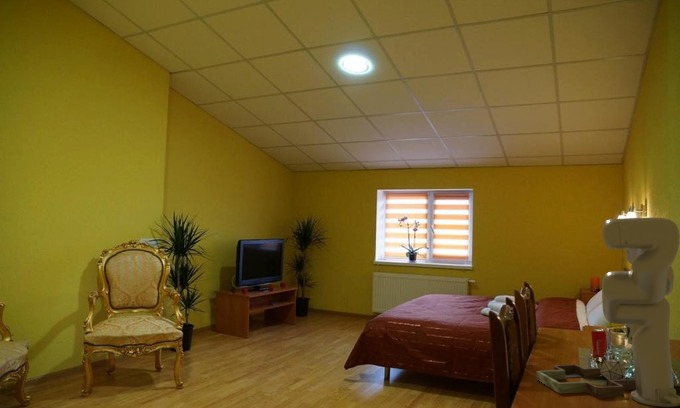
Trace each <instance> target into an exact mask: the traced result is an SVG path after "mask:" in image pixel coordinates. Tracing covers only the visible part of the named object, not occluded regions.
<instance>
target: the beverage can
mask: <svg viewBox="0 0 680 408" xmlns="http://www.w3.org/2000/svg"><path fill="white" fill-rule="evenodd" d="M590 334H591V346H592V347H591V349H592V357H593V359H594V358H596V357H603V356H604V355H605V353H606V349H607V350H608V342H607V341H608V340H607V332H606V330H605V329H602V328H601V329H600V328H599V329H598V328H593V329H591V333H590Z"/></svg>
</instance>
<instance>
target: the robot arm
mask: <svg viewBox="0 0 680 408" xmlns="http://www.w3.org/2000/svg"><path fill="white" fill-rule="evenodd" d="M601 228H602V230H601V234H602V235H601V236H602V240H603V243H604V245H605V246H606V247H607V248H608V249H610V250H625V258H626V261H627V262H628V263H629V264H630V269H631V270H617V271H615V270H613V271H609V272H607V273H605V274H604V276H603V278H602V283H601V299H602V302H601V303H602V312H603V315H604V318H605V320H606V321H607V322H608V323H611V324H616V325H625V335H626V336H625V337H626V338H627V344H629V345H631V347H632V358H633V368H634V369H633V370H634V379H635V383H636V389H634V390H631V392H630V398H631V399H632V400H634V401H635V402H638V403H640V404H644V405H647V406H652V407H660V408H661V407H662V408H673V407H679V406H680V395H677V390H676V388H674V379H673V367H672V356H671V345H670V344H671V343H670V316H671V305H670V302H669V300H668V299H667V298H666V296H669V295H671V293H673V290H674V283H675V280H674V279H675V274H674V269H673V267H672V264H673V262H674V261H675V260H676V257H677V254H678V252H679V248H680V230H679V227H678V224H677V223H676V222H674V221H673V220H671V219H668V218H665V217H627V218H626V217H625V218H612V219H606V220H605V221H604V223H603V225H602V227H601Z"/></svg>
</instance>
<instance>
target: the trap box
mask: <svg viewBox="0 0 680 408" xmlns="http://www.w3.org/2000/svg"><path fill="white" fill-rule="evenodd" d="M600 369H601V367H591V368H589V367H588V368H585V367H583V366H581V365H578V364H575V363H574V364H558V365H553V369H552V370H551V369H550V370H536V371H535V373H536V374H535V376H536V380H537V381H538V380H539V381H540V382H539V381H538V382H539V383H541V382H542V383H541V384H542V385H544V384H545V386H546V387H548V388H549V389H551V390H552V391H554V392H556V393H558V394H560V395H561V394H574V393H578V394H579V393H588V394H589V395H591V396H593V397H595V398H599V399H600V398H601V399H602V398H604V399H605V398H620V397H622V398H623V397H625V392H624V391H627V390H629V391H630V390H631V391H633V390H636V383H635V378H623V379H620V380H607V386H597V385H595V384H594V383H591V382H589V381H586V380H584V381H571V382H559V380H566V379H574V378H575V379H576V378H584V379H594V378H595V377H598V378H600V377H599V376H600V375H601V374H597V373H598V372H600ZM595 379H596V378H595Z"/></svg>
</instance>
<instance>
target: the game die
mask: <svg viewBox="0 0 680 408" xmlns="http://www.w3.org/2000/svg"><path fill="white" fill-rule="evenodd" d="M602 361H603V362H601V363H602V364H599V366H600V368H601V369H600V372H598V373H597V374H601V375H602V376H604V377H603V378H604V379H605V381H608V380H620V379H626V376H625V373H626V370H628V367H624V366H623V365H622V364H620V360H615V357H614V356H613V357H612V358H611V359H608V360H605V361H604V360H603V359H602Z"/></svg>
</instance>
